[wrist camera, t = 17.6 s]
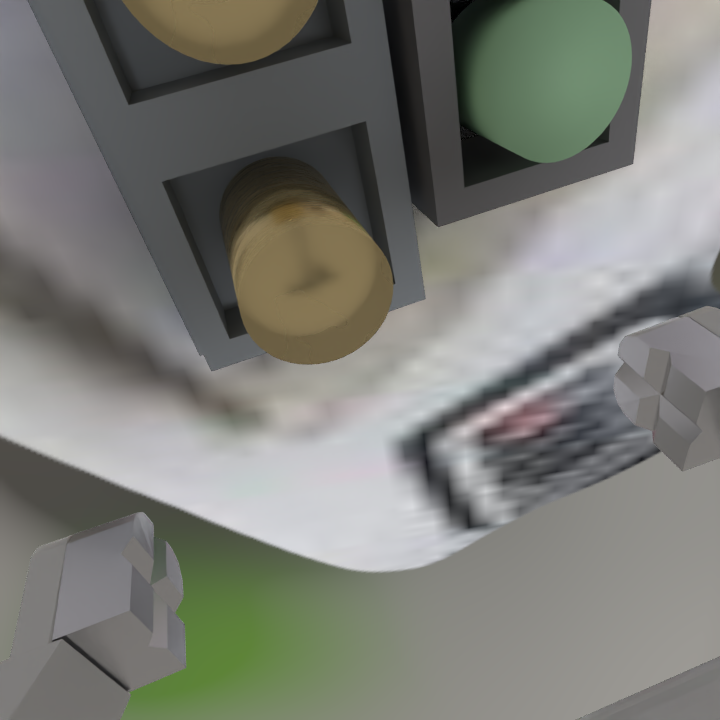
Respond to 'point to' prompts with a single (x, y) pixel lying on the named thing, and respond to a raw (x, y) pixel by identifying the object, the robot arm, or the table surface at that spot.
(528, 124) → the button
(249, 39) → the billet
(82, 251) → the table surface
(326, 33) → the compartment tray
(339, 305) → the cylinder
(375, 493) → the table surface
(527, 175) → the button housing
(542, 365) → the table surface
